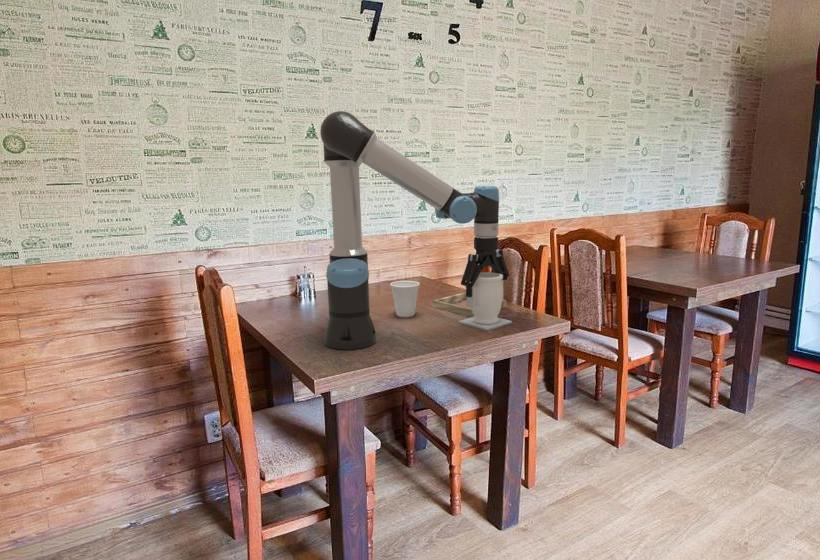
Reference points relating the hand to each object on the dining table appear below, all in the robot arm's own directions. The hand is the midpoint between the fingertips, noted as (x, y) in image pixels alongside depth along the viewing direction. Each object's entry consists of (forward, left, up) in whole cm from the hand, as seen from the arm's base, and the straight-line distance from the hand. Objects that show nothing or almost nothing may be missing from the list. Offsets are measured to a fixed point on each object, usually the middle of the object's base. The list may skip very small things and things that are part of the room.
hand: (485, 303), depth 175 cm
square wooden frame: (+11, +17, -7) cm, 21 cm away
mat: (0, 0, -7) cm, 7 cm away
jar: (0, 0, -6) cm, 6 cm away
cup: (-12, +25, -7) cm, 29 cm away
